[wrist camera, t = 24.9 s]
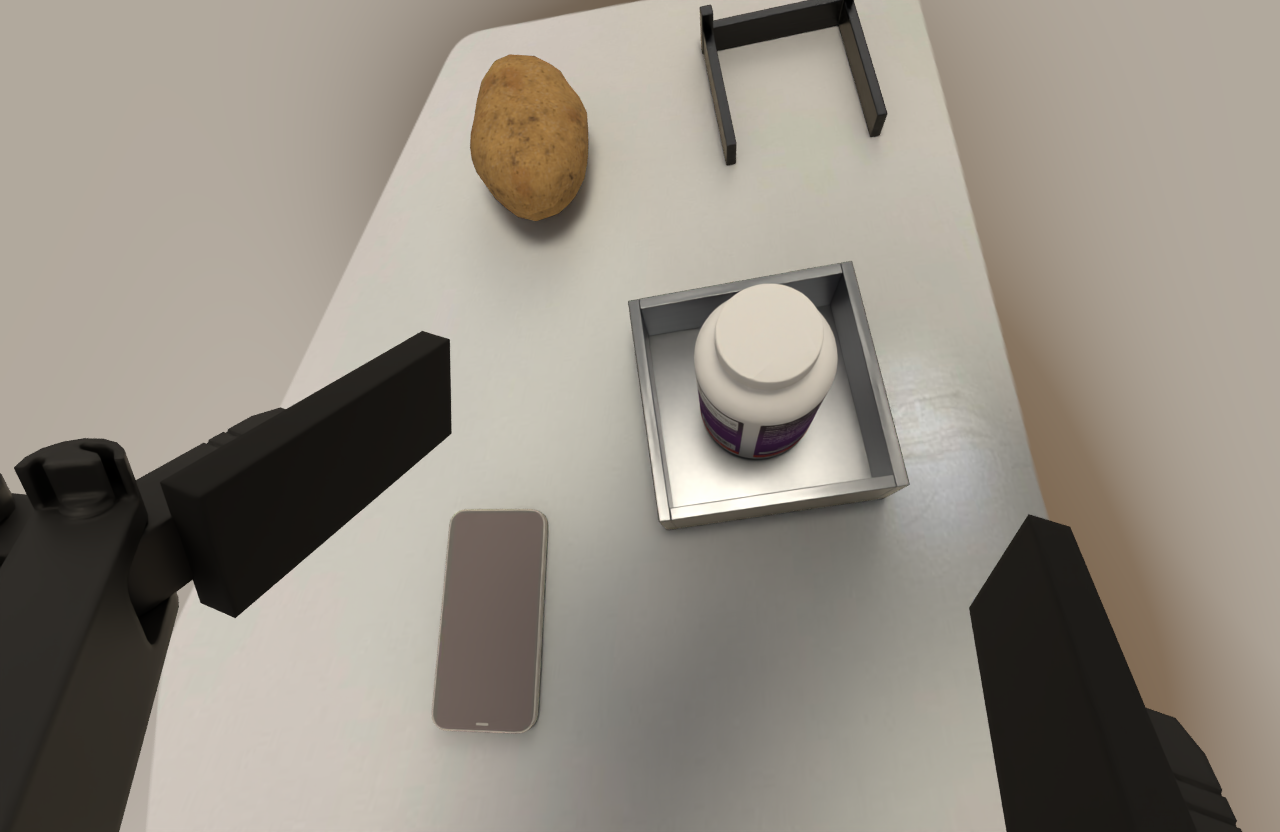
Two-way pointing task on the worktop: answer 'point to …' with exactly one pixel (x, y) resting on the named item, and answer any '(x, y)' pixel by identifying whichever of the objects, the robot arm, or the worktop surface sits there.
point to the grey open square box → (803, 475)
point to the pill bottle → (763, 369)
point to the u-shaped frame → (822, 9)
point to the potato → (529, 137)
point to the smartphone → (491, 622)
